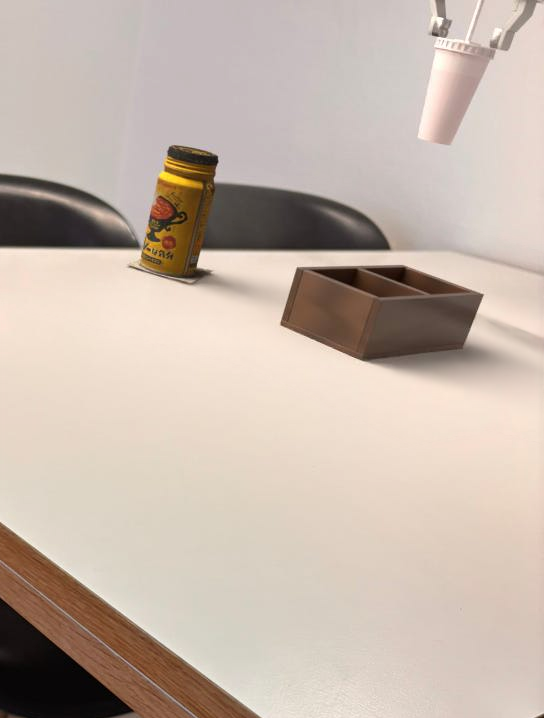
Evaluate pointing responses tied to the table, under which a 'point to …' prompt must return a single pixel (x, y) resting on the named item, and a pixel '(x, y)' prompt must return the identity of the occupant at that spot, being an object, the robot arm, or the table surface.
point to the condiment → (179, 215)
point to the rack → (379, 310)
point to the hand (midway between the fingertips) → (466, 43)
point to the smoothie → (453, 84)
